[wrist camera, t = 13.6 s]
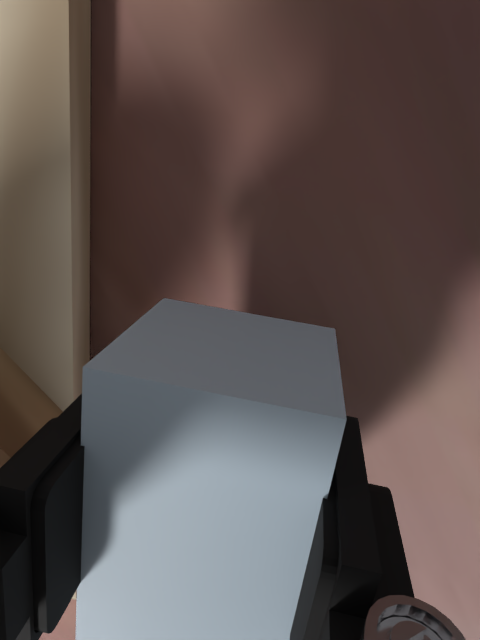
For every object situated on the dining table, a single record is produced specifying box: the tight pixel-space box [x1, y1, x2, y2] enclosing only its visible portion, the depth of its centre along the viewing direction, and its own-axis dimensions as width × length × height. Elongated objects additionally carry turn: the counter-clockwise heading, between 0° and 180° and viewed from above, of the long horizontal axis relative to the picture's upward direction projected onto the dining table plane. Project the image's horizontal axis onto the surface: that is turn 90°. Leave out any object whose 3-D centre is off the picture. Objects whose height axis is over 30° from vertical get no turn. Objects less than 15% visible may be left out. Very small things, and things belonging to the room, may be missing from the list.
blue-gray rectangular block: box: [76, 298, 347, 640], centre depth 10 cm, size 4×8×4 cm, turn 173°
